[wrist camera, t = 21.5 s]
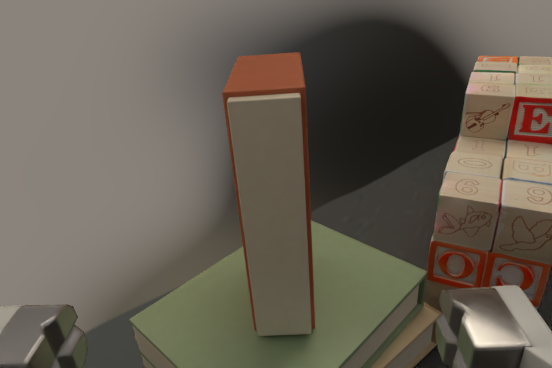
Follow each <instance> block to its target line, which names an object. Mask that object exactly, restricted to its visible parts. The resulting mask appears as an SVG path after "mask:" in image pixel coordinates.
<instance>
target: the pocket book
mask: <svg viewBox="0 0 552 368" xmlns="http://www.w3.org/2000/svg"><path fill="white" fill-rule="evenodd" d="M222 95H223V103H224V110H225V118H226V125H227V132H228V140H229V147H230V154H231V162H232V169H233V177H234V184H235V191H236V199H237V206H238V213H239V220H240V228H241V236H242V242H243V250H244V258H245V265H246V273H247V280H248V287H249V295H250V302H251V310H252V317H253V324H254V330H255V331H257V335H258V336H273V335H298V334H311V333H312V329H314V328H315V306H314V281H313V257H312V232H311V210H310V183H309V159H308V136H307V135H308V134H307V110H306V87H305V81H304V75H303V69H302V63H301V56H300V53H299V52H296V53H283V54H268V55H255V56H240V57H238V58H237V61H236V63H235V65H234V67H233V70H232V72H231V74H230V77H229V79H228V81H227V84H226V86H225V88H224V90H223V93H222Z"/></svg>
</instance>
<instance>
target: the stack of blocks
mask: <svg viewBox="0 0 552 368" xmlns="http://www.w3.org/2000/svg"><path fill="white" fill-rule="evenodd" d="M551 265H552V57H531V56H520V57H519V58H518V57H517V56H479V58H478V60H477V62H476V64H475V67H474V71H473V72H472V73H471V76H470V79H469V84H468V87H467V90H466V93H465V100H464V107H463V114H462V120H461V127H460V135H459V137H458V140H457V143H456V146H455V148H454V151H453V152H452V153H451V155H450V158H449V160H448V163H447V166H446V169H445V172H444V177H443V183H442V186H441V189H440V192H439V195H438V204H437V211H436V219H435V227H434V233H433V236H432V239H431V242H430V249H429V257H428V265H427V272H428V275H427V283H426V291H425V300H424V302H425V303H426V304H428V305H430V306H432V307H433V308H435V309H437V310H438V311H440V312H442V313H443V311H442V309H441V306H440V304H439V300H440V294H441V292H442V290H443V289H454V288H474V287H491V286H508V285H516V286H518V287H520V288H521V289H522V291H523V292H524V293H525V295H526V296H527V298H528V299H529V300H530V302H531V303H532V305H533V306H534V307H535V309H536V310H537V308H538V307H539V306H540V303H541V300H542V297H543V293H544V290H545V287H546V283H547V280H548V276H549V273H550V269H551Z"/></svg>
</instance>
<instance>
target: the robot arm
mask: <svg viewBox="0 0 552 368" xmlns="http://www.w3.org/2000/svg"><path fill="white" fill-rule="evenodd" d="M439 304H440V306H441V309H442V311H443V313H442V314H441V315H440V316H439V317H438V318H437V321H436V341H437V346H438V350H439V354H440V356H441V359H442V362H443V363H444V364H445V365H446V366H447V367H449V368H552V331H551V330H550V328H549V327H548V325H547V324H546V323H545V321H544V320H543V319H542V317H541V316H540V314H539V313H538V312H537V310H536V309H535V307H534V306H533V305H532V303H531V302H530V300H529V299H528V298H527V296H526V295H525V293H524V292H523V291H522V289H521V288H520V287H518V286H516V285H508V286H491V287H474V288H454V289H443V290H442V292H441V294H440V300H439ZM77 318H78V316H77V314H76V312H75V310H74V307H73V306H70V305H25V306H3V307H1V308H0V368H83V367H84V365H85V362H86V356H87V351H88V348H87V339H86V336H85V334H84V331H82V330H81V329H80V328H78V327H77V326H76V325H74V324H75V322H76V320H77Z"/></svg>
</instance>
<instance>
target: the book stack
mask: <svg viewBox="0 0 552 368" xmlns="http://www.w3.org/2000/svg"><path fill="white" fill-rule="evenodd" d="M311 232H312V257H313V281H314V306H315V328H314V329H312V333H311V334H298V335H273V336H258V335H257V331H255V330H254V324H253V317H252V310H251V302H250V295H249V287H248V280H247V273H246V265H245V258H244V250H243V247H241V248H240V249H238V250H237V251H235V252H234V253H232V254H230V255H229V256H227V257H226V258H224V259H223V260H221V261H219V262H218V263H216V264H215V265H213V266H212V267H210V268H209V269H207V270H205V271H204V272H202V273H201V274H199V275H198V276H196V277H194V278H193V279H191V280H190V281H188V282H187V283H185V284H184V285H182V286H180V287H179V288H177V289H176V290H174V291H173V292H171V293H170V294H168V295H166V296H165V297H163V298H162V299H160V300H159V301H157V302H155V303H154V304H152V305H151V306H149V307H148V308H146V309H145V310H143V311H141V312H140V313H138V314H137V315H135V316H134V317H132V318H131V319H129V321H130V324H131V325H132V326H133V329H134V332H135V335H136V336H135V340H136V341H137V343H138V346H139V349H140V350H139V352H140V354H141V355H142V358H143V361H144V363H143V364H144V367H145V368H414V367H415V366H416V365H417V364H418V363H419V362H420V361H421V360H422V359H423V358H424V357H425V356H426V355H427V354H428V353H429V352H430V351H431V350H432V349H433V348H434V347H435V346H436V345H437V341H436V321H437V318H438V317H439V316H440V315H441V314H442V312H440V311H438V310H437V309H435V308H433V307H432V306H430V305H428V304H426V303H425V302H424V300H425V291H426V283H427V275H428V272H427V271H425V270H423V269H421V268H418V267H416V266H414V265H411V264H409V263H407V262H405V261H402V260H400V259H398V258H396V257H393V256H391V255H389V254H386V253H384V252H382V251H380V250H377V249H375V248H373V247H371V246H368V245H366V244H364V243H361V242H359V241H357V240H355V239H352V238H350V237H348V236H346V235H343V234H341V233H339V232H336V231H334V230H332V229H330V228H327V227H325V226H323V225H321V224H318V223H316V222H314V221H311Z"/></svg>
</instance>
